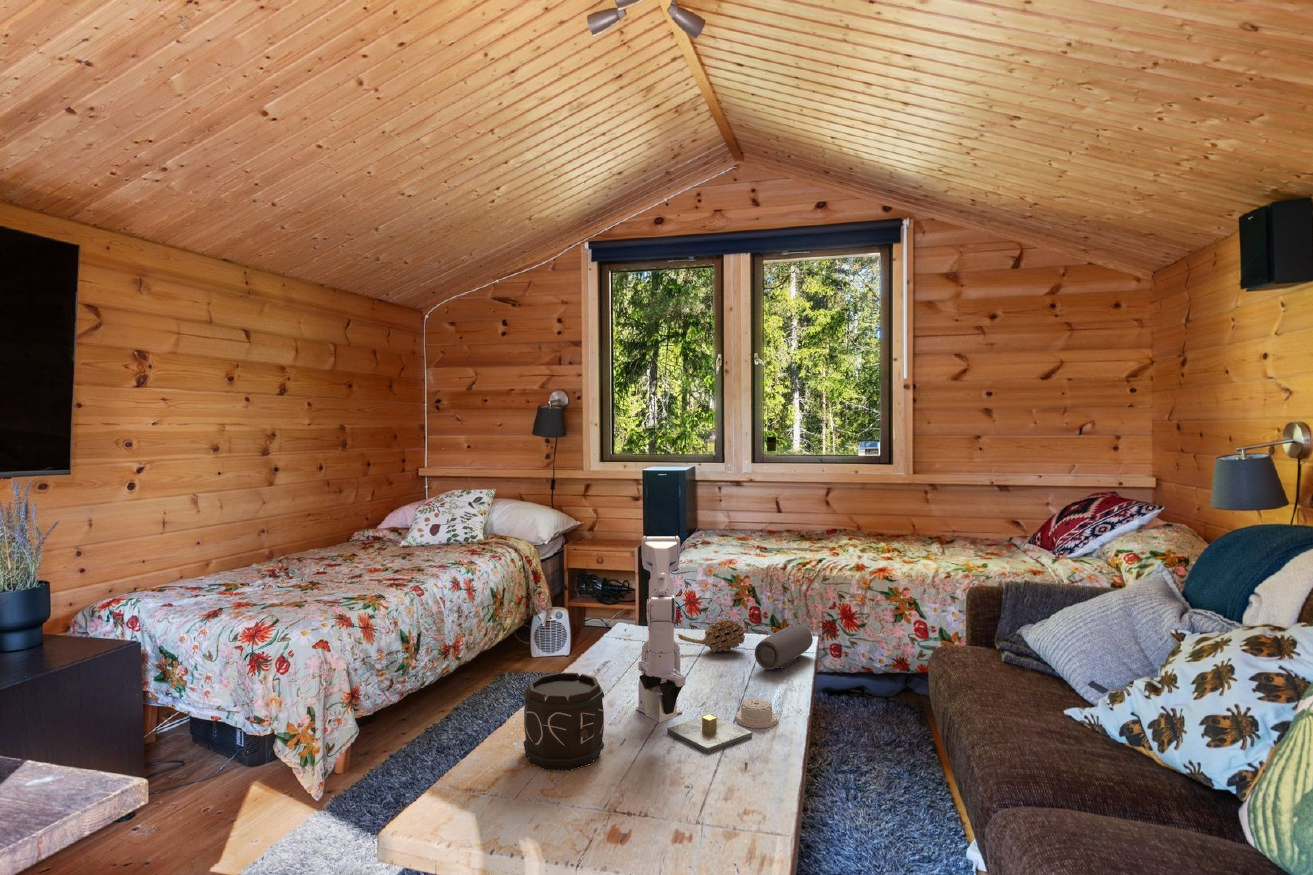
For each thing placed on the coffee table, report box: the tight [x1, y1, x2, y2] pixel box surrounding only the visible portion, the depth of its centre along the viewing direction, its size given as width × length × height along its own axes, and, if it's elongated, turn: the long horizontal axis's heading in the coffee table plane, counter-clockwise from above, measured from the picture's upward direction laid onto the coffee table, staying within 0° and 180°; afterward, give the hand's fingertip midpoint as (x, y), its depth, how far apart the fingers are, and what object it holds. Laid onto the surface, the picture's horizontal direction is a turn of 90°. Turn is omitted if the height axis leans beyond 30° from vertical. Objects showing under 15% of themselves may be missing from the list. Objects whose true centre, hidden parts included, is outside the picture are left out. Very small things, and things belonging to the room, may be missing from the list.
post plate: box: [666, 713, 753, 754], centre depth 178 cm, size 14×14×4 cm
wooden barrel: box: [522, 671, 605, 771], centre depth 167 cm, size 18×18×16 cm
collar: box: [645, 685, 678, 723], centre depth 173 cm, size 5×5×6 cm
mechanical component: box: [735, 698, 778, 729], centre depth 187 cm, size 10×4×10 cm
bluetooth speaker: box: [754, 623, 814, 670], centre depth 231 cm, size 23×9×10 cm, turn 144°
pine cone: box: [676, 619, 746, 653], centre depth 242 cm, size 22×10×10 cm, turn 98°
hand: (661, 709), depth 173 cm, fingers closed on collar, 5 cm apart
